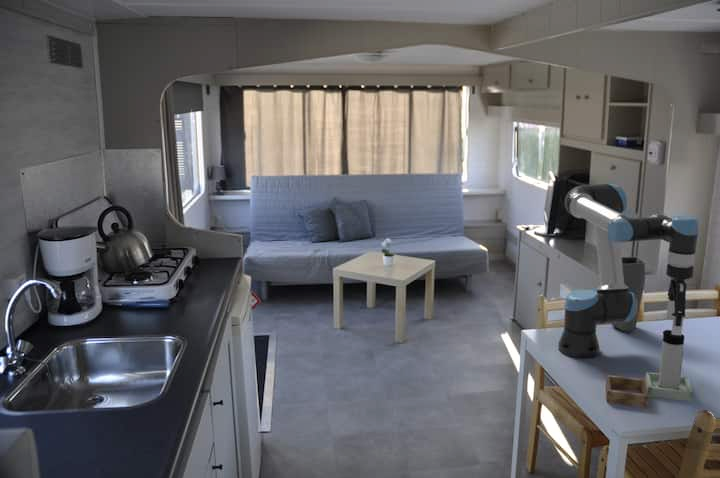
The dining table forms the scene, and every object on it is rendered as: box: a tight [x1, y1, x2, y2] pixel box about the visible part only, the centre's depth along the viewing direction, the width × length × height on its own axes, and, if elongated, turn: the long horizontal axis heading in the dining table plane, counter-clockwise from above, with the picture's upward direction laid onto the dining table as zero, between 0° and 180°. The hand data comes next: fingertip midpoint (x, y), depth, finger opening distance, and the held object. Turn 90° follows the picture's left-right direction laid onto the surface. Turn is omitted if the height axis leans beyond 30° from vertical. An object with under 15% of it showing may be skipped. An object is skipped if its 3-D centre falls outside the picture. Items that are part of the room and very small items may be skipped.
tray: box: [644, 371, 694, 402], centre depth 202 cm, size 13×12×3 cm
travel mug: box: [658, 329, 685, 390], centre depth 200 cm, size 6×7×20 cm
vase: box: [611, 256, 646, 333], centre depth 252 cm, size 12×12×30 cm
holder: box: [605, 374, 649, 408], centre depth 199 cm, size 12×12×4 cm
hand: (673, 326), depth 198 cm, fingers open, 13 cm apart
